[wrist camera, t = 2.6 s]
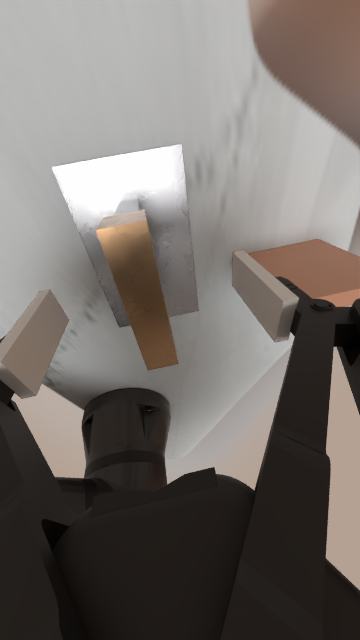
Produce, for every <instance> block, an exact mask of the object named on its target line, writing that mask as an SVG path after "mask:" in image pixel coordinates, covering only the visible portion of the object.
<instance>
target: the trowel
mask: <svg viewBox="0 0 360 640" xmlns="http://www.w3.org/2000/svg"><path fill="white" fill-rule="evenodd" d="M52 170H53V172H54V174H55V177H56V179H57V181H58V184H59V186H60V188H61V191H62V193H63V196H64V198H65V200H66V203H67V205H68V207H69V210H70V212H71V214H72V217H73V219H74V221H75V224H76V226H77V229H78V231H79V233H80V236H81V238H82V240H83V243H84V245H85V247H86V250H87V252H88V254H89V257H90V259H91V262H92V264H93V266H94V269H95V271H96V273H97V276H98V278H99V280H100V283H101V285H102V288H103V290H104V292H105V295H106V297H107V299H108V302H109V304H110V306H111V309H112V311H113V313H114V316H115V318H116V321H117V323H118V325H119V327H124V326H129V325H131V327H132V329H133V332H134V335H135V337H136V340H137V343H138V345H139V348H140V351H141V353H142V356H143V359H144V361H145V364H146V367H147V369H148V370H153V369H157V368H162V367H166V366H171V365H175V364H178V360H177V355H176V350H175V345H174V340H173V336H172V331H171V327H170V322H169V318H168V317H171V316H175V315H180V314H185V313H189V312H194V311H199V310H198V300H197V291H196V281H195V271H194V261H193V252H192V242H191V232H190V222H189V213H188V203H187V193H186V184H185V174H184V164H183V154H182V145H181V144H180V145H174V146H168V147H163V148H157V149H151V150H146V151H140V152H134V153H129V154H123V155H117V156H111V157H106V158H100V159H94V160H89V161H83V162H77V163H71V164H66V165H60V166H54V167H52Z"/></svg>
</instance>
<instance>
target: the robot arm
mask: <svg viewBox="0 0 360 640" xmlns="http://www.w3.org/2000/svg"><path fill="white" fill-rule="evenodd" d="M232 286H233V287H234V289H235V290H236V291H237V293H238V294H239V295H240V297H241V298H242V299H243V301H244V302H245V303H246V305H247V306H248V307H249V309H250V310H251V311H252V313H253V314H254V315H255V317H256V318H257V319H258V321H259V322H260V323H261V325H262V326H263V327H264V329H265V330H266V331H267V333H268V334H269V335H270V337H271V338H272V339H273V341H274V342H275V343H276V342H280V341H285V340H288V339H289V335H290V332H291V333H292V334H293V335H294V336H295V338H294V341H293V345H292V349H291V353H290V357H289V361H288V365H287V369H286V373H285V377H284V380H283V384H282V388H281V392H280V396H279V400H278V403H277V408H276V411H275V415H274V419H273V423H272V426H271V430H270V434H269V438H268V442H267V446H266V450H265V453H264V458H263V461H262V465H261V468H260V472H259V476H258V479H257V483H256V487H255V491H254V490H253V489H251V488H250V487H249V486H247V485H246V484H244V483H243V482H241V481H239V480H237V479H235V478H232V477H229V476H226V475H219V474H216V473H215V468H214V467H213V468H208V469H204V470H200V471H196V472H192V473H188V474H184V475H183V476H181V477H179V478H178V479H176V480H174V481H173V482H171V483H169V484H168V485H167V477H166V468H165V456H164V455H165V448H166V442H167V437H168V431H169V426H170V418H171V416H170V409H169V404H168V402H167V400H166V399H165V398H164V397H162V396H161V395H159V394H157V393H155V392H152V391H148V390H143V389H122V390H116V391H112V392H108V393H106V394H103V395H101V396H99V397H97V398H95V399H94V400H93V401H91V402H90V403H89V404H88V405H87V407H86V408H85V411H84V415H83V420H82V434H83V442H84V450H85V457H86V469H85V475H84V478H83V479H82V478H64V477H54V475H53V473H52V471H51V469H50V467H49V466H48V464H47V462H46V460H45V458H44V456H43V455H42V452H41V450H40V448H39V447H38V445H37V443H36V441H35V439H34V437H33V435H32V433H31V431H30V430H29V428H28V426H27V424H26V422H25V420H24V418H23V416H22V414H21V412H20V411H19V409H18V407H17V405H16V403H15V402H14V401H12V400H11V398H12V396H13V394H14V393H15V394H17V395H18V396H19V397H20V398H21V399H23V398H28V397H32V396H36V395H37V393H38V391H39V388H40V386H41V384H42V381H43V379H44V377H45V374H46V372H47V370H48V367H49V365H50V363H51V361H52V358H53V356H54V354H55V351H56V349H57V347H58V344H59V342H60V340H61V338H62V335H63V333H64V331H65V328H66V326H67V324H68V321H69V319H68V317H67V315H66V314H65V312H64V311H63V309H62V307H61V306H60V304H59V303H58V301H57V299H56V298H55V296H54V295H53V293H52V291H51V290H45V291H40V292H39V293H38V294H37V295H36V297H35V298H34V299H33V301H32V302H31V303H30V305H29V306H28V307H27V309H26V310H25V311H24V313H23V314H22V315H21V316H20V318H19V319H18V320H17V322H16V323H15V324H14V326H13V327H12V328H11V330H10V331H9V332H8V334H7V335H6V336H4V337H3V338H2V339H1V340H0V640H360V590H359V589H358V588H356V587H355V586H354V585H353V584H352V583H351V582H350V581H349V580H348V579H347V578H346V577H345V576H344V575H342V573H341V572H340V571H339V570H337V569H336V568H335V567H334V566H333V565H332V564H331V563H330V562H329V561H328V560H327V559H326V541H327V524H328V506H329V488H330V459H329V457H328V456H327V454H326V438H327V426H328V412H329V400H330V386H331V373H332V360H333V347H337V349H338V352H339V355H340V358H341V361H342V364H343V366H344V370H345V373H346V376H347V379H348V382H349V385H350V388H351V391H352V393H353V396H354V399H355V402H356V405H357V408H358V411H359V414H360V298H359V299H356V300H355V301H354V303H353V305H352V307H336V306H335V305H334V304H333V303H331V302H329V301H327V300H324V299H312V298H311V297H310V296H309V295H307V294H306V293H305V292H304V291H302V290H301V289H300V288H298V287H297V286H296V285H294V283H292V282H291V281H290V280H288V279H286V278H284V277H281V276H279V277H274V276H273V275H272V274H271V273H269V272H268V271H267V270H266V269H265V268H264V267H262V266H261V265H260V264H259V263H258V262H257V261H255V260H254V259H253V258H252V257H251V256H250V255H248V254H247V253H246V252H245V251H244V250H240V251H235V252H233V265H232Z"/></svg>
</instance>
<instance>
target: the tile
mask: <svg viewBox="0 0 360 640" xmlns="http://www.w3.org/2000/svg"><path fill="white" fill-rule="evenodd" d="M248 255H250V256H251V257H252V258H253V259H254V260H255V261H257V262H258V263H259V264H260V265H261V266H262V267H264V268H265V269H266V270H267V271H268V272H269V273H271V274H272V275H273V276H274V277H279V276H281V277H284V278H286V279H288V280H290V281H291V282H292V283H294V285H296V286H297V287H298V288H300V289H301V290H302V291H304V292H305V293H306V294H307V295H309V296H310V297H311V298H312V299H324V300H327V301H329V302H331V303H333V304H334V305H335V306H336V307H345V306H350V305H353V303H354V301H355V300H356V299H359V298H360V257H359V256H357V255H354V254H352V253H350V252H347V251H345V250H343V249H340V248H338V247H335V246H333V245H331V244H328V243H326V242H324V241H321V240H319V239H316V240H311V241H306V242H301V243H296V244H292V245H287V246H282V247H277V248H273V249H268V250H263V251H258V252H253V253H249V254H248ZM232 265H233V257H232Z"/></svg>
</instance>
